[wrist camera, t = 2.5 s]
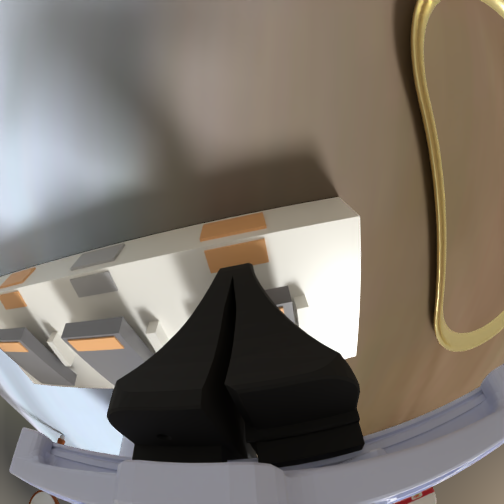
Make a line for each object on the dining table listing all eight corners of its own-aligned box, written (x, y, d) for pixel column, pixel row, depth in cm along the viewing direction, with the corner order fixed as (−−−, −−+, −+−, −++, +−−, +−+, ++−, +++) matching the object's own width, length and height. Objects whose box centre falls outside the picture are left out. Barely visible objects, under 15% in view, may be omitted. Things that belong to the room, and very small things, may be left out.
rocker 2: (169, 371, 16) (168, 386, 16) (118, 374, 17) (116, 388, 16) (122, 316, 13) (118, 334, 12) (65, 323, 13) (60, 339, 12)
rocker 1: (77, 374, 17) (74, 387, 16) (44, 373, 17) (41, 384, 16) (25, 327, 13) (19, 341, 12) (-4, 329, 13) (-9, 341, 12)
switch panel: (343, 326, 20) (360, 366, 16) (45, 362, 21) (30, 391, 18) (339, 194, 15) (368, 221, 12) (-10, 277, 16) (-35, 304, 13)
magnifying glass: (74, 433, 29) (51, 541, 12) (82, 438, 30) (61, 545, 12) (46, 430, 30) (21, 523, 13) (53, 436, 31) (30, 527, 13)
